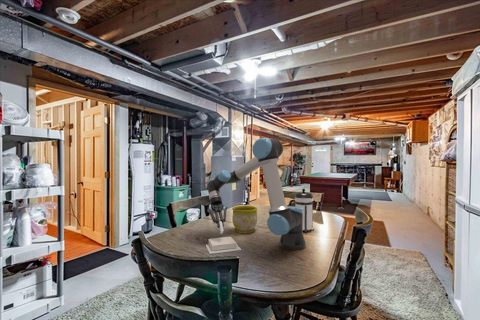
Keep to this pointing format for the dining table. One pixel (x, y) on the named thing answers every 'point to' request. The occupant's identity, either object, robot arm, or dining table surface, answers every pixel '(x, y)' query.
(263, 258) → the dining table surface
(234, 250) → the mat
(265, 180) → the robot arm
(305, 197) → the coffee press
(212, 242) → the tile
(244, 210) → the flowerpot
